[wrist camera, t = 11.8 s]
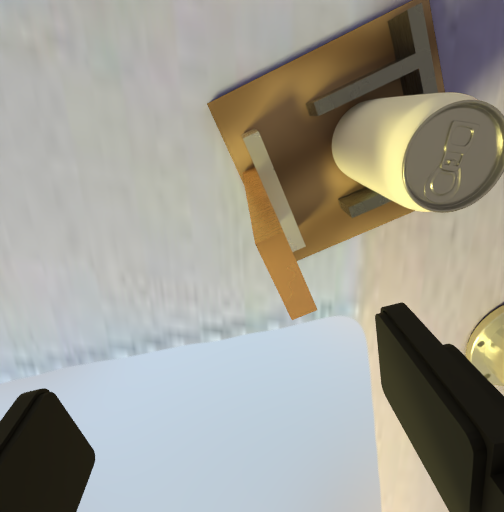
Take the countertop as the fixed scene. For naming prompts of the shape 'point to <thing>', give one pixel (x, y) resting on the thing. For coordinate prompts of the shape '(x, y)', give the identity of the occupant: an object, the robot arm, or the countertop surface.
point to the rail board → (316, 128)
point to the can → (423, 149)
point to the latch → (275, 228)
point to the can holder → (404, 67)
